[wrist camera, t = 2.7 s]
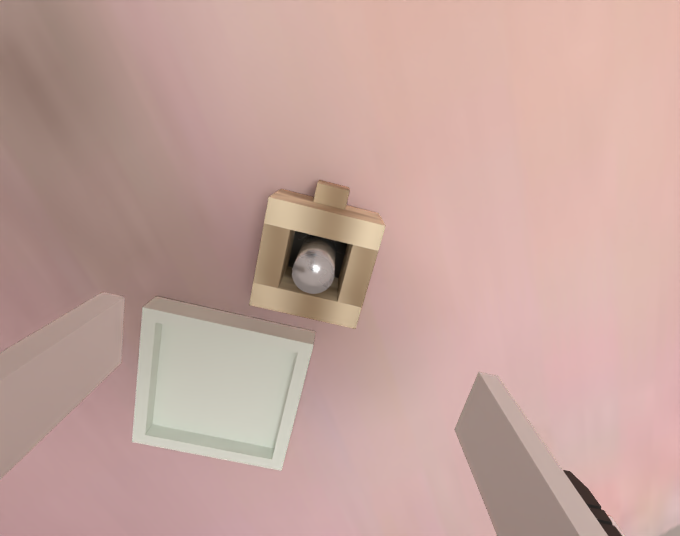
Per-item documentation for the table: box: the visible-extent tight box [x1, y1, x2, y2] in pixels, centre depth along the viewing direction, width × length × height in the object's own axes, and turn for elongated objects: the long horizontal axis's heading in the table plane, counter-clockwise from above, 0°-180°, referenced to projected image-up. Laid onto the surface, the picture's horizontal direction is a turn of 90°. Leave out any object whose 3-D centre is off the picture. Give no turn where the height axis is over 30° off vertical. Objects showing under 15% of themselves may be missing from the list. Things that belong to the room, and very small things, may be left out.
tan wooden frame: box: [249, 180, 385, 329], centre depth 27 cm, size 8×9×5 cm
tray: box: [132, 296, 315, 471], centre depth 35 cm, size 15×15×2 cm
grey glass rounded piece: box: [288, 231, 347, 294], centre depth 27 cm, size 7×7×8 cm
